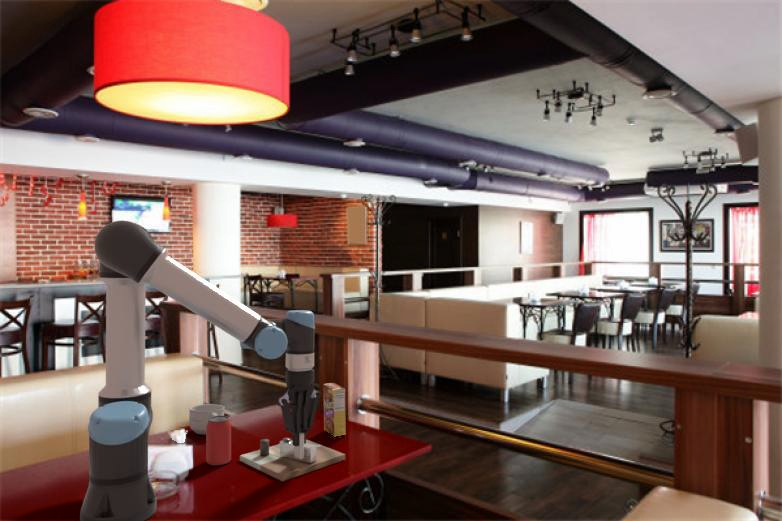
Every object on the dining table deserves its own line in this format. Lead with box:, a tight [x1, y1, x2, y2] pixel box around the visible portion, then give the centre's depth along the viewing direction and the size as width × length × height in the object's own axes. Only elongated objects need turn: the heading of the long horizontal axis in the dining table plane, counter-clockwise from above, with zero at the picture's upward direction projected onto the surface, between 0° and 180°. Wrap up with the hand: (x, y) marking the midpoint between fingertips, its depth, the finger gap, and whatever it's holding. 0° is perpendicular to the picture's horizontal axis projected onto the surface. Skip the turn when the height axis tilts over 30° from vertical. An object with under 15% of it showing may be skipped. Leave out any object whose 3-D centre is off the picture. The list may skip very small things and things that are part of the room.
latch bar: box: [279, 437, 316, 463], centre depth 153 cm, size 10×3×5 cm, turn 62°
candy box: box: [323, 382, 347, 438], centre depth 180 cm, size 9×4×15 cm, turn 28°
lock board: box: [239, 438, 346, 482], centre depth 157 cm, size 21×20×6 cm
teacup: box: [188, 403, 225, 435], centre depth 180 cm, size 14×11×8 cm
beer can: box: [205, 415, 232, 466], centre depth 155 cm, size 7×7×12 cm
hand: (299, 457), depth 151 cm, fingers closed
